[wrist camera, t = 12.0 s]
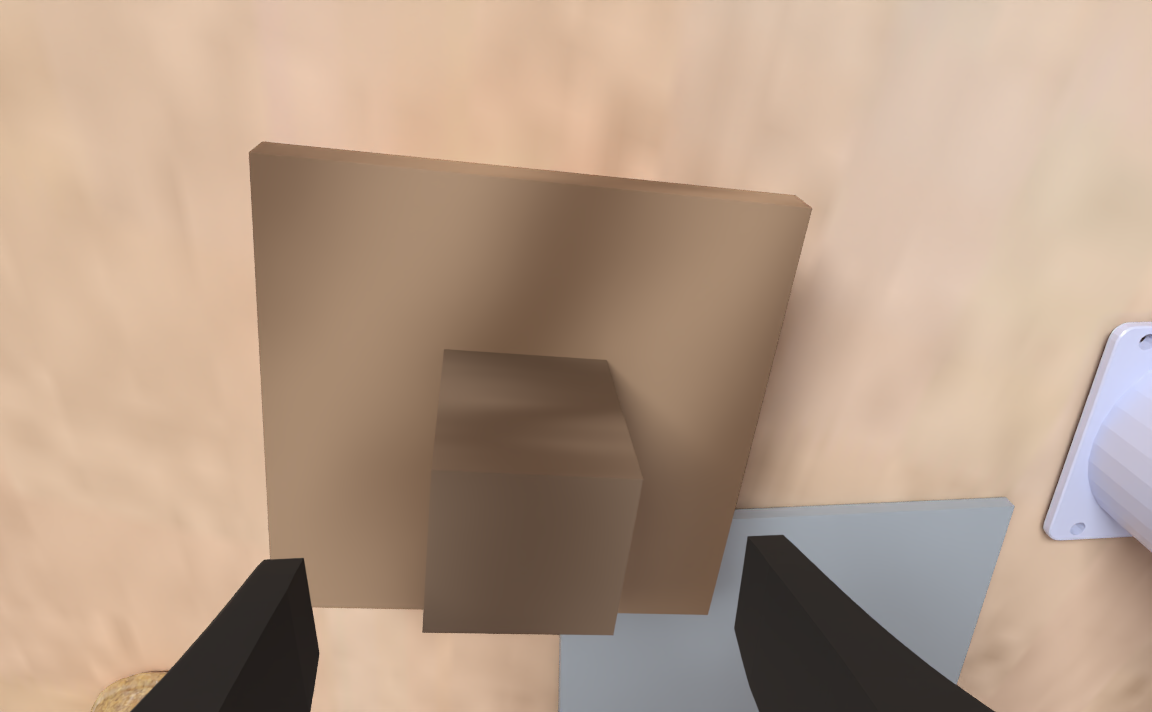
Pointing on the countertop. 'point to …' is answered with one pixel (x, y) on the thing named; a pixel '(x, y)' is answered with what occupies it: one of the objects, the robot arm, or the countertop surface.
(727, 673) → the rubber mat
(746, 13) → the countertop surface
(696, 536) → the cover board
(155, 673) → the sprinkles bottle
